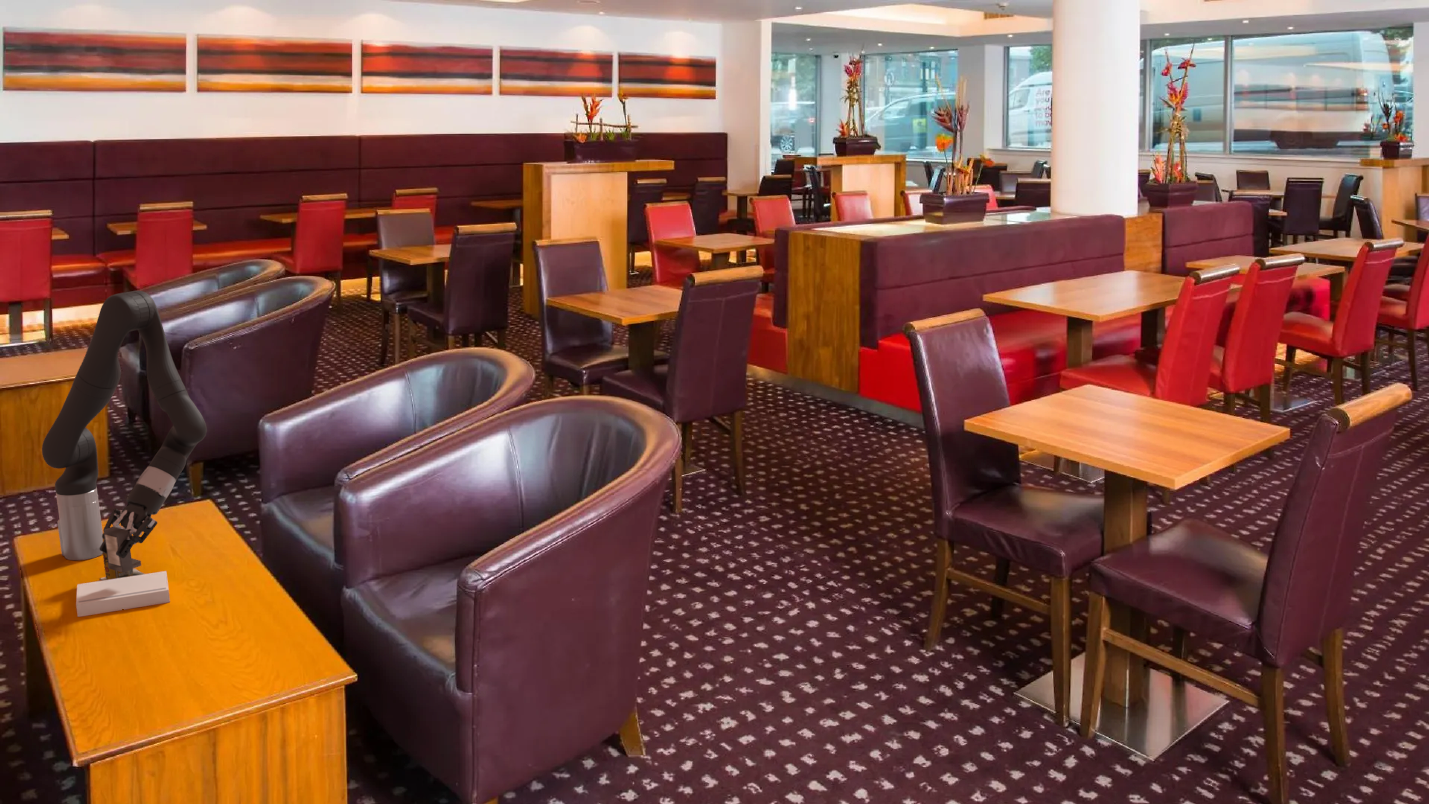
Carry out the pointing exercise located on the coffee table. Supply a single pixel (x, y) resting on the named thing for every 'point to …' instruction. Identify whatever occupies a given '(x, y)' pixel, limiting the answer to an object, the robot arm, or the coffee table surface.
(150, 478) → the robot arm
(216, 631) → the coffee table surface
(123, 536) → the dark block with lip
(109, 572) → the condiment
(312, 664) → the coffee table surface
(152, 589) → the board
